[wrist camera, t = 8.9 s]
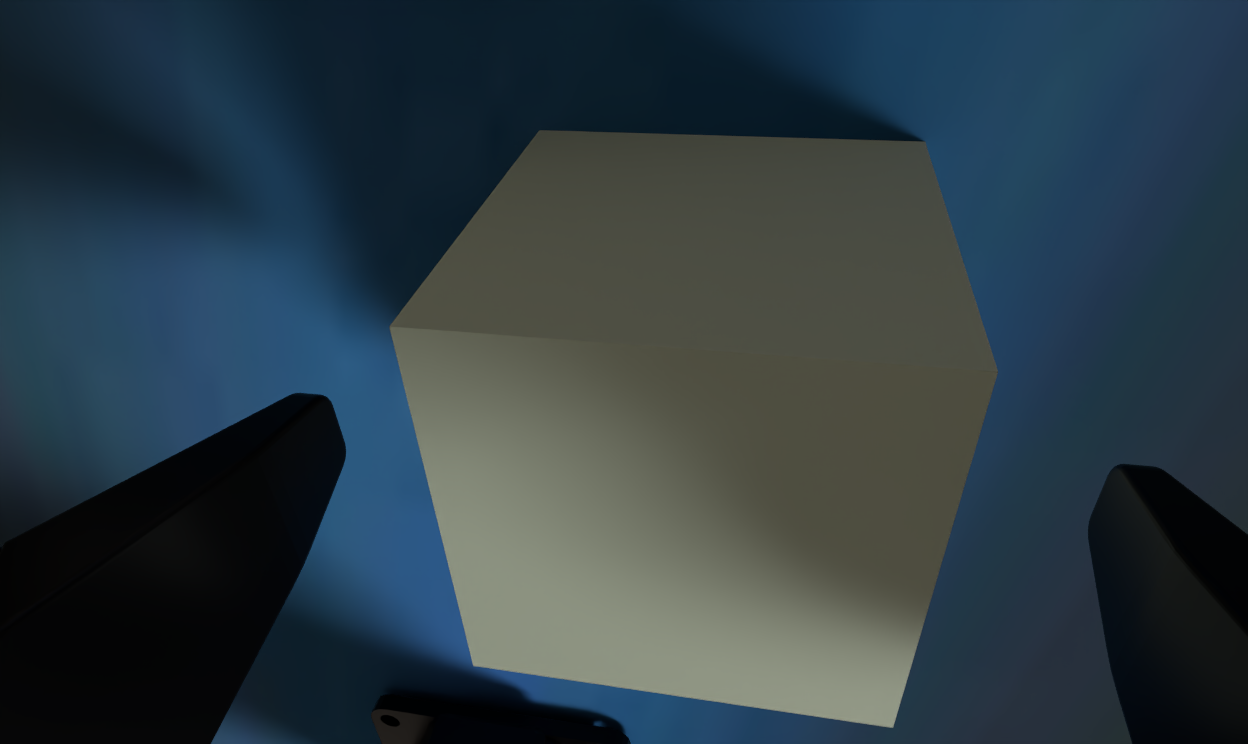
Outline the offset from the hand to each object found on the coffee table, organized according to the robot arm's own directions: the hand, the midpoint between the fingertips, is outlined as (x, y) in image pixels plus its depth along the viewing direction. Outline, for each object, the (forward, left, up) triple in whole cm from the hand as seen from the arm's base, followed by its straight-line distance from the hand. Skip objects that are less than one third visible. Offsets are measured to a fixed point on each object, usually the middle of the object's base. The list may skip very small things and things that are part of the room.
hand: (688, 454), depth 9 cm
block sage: (0, 0, -3) cm, 3 cm away
